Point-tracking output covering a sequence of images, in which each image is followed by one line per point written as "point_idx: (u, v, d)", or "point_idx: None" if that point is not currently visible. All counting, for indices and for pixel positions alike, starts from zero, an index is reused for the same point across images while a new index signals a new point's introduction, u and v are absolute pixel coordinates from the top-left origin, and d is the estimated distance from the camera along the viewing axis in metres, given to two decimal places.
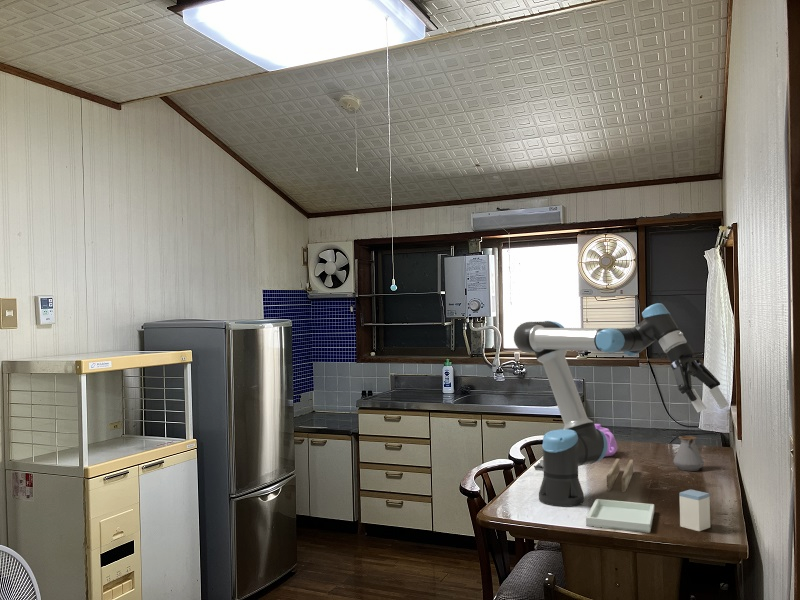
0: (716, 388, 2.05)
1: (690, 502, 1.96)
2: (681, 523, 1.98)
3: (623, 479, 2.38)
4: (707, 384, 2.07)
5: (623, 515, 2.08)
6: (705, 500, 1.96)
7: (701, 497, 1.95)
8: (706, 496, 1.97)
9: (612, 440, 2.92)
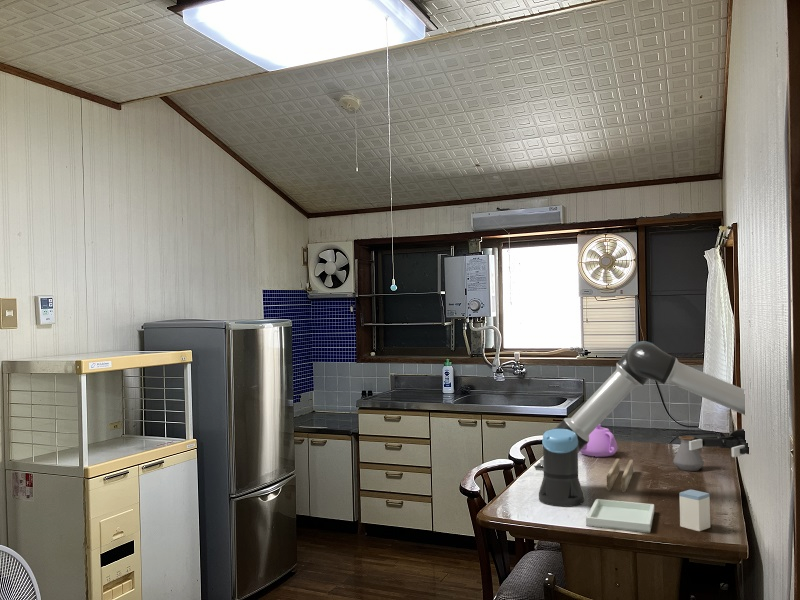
0: (701, 446, 2.13)
1: (690, 502, 1.96)
2: (681, 523, 1.98)
3: (623, 479, 2.38)
4: (706, 440, 2.14)
5: (623, 515, 2.08)
6: (705, 500, 1.96)
7: (701, 497, 1.95)
8: (706, 496, 1.97)
9: (612, 440, 2.92)
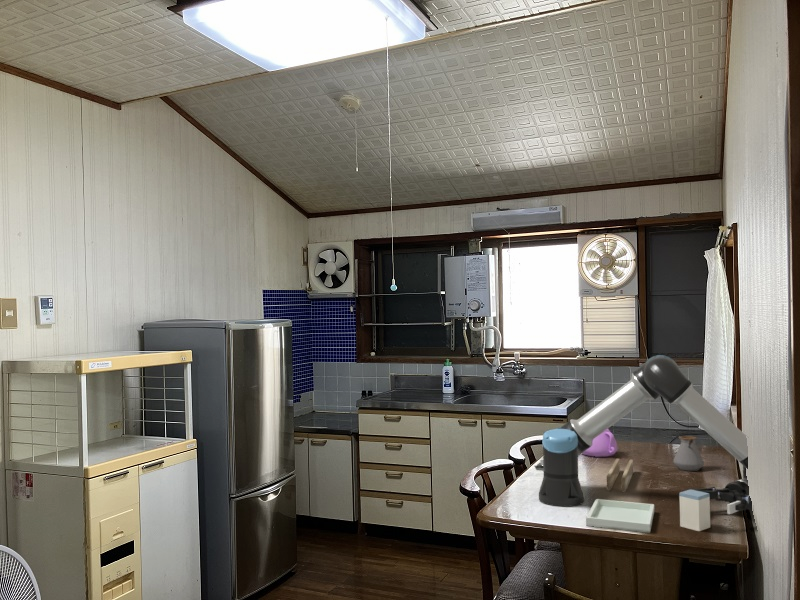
0: None
1: (690, 502, 1.96)
2: (681, 523, 1.98)
3: (623, 479, 2.38)
4: None
5: (623, 515, 2.08)
6: (705, 500, 1.96)
7: (701, 497, 1.95)
8: (706, 496, 1.97)
9: (612, 440, 2.92)
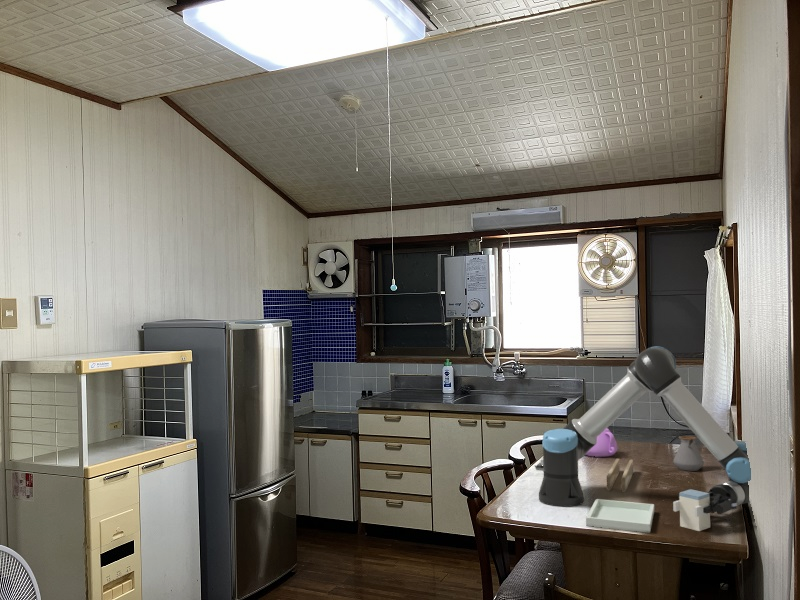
0: None
1: (690, 502, 1.96)
2: (681, 523, 1.98)
3: (623, 479, 2.38)
4: None
5: (623, 515, 2.08)
6: (705, 500, 1.96)
7: (701, 497, 1.95)
8: (706, 496, 1.97)
9: (612, 440, 2.92)
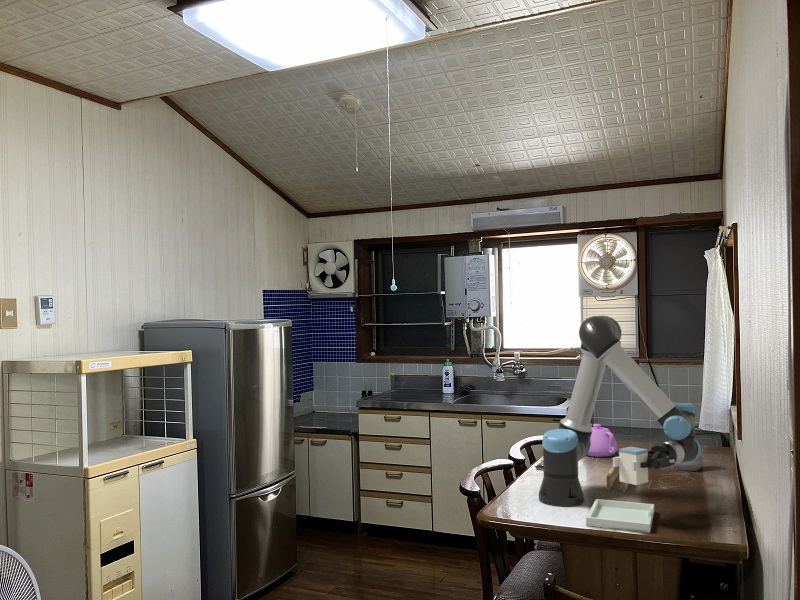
0: None
1: (628, 457, 2.03)
2: (620, 478, 2.05)
3: None
4: None
5: (623, 515, 2.08)
6: (643, 456, 2.03)
7: (639, 452, 2.02)
8: (644, 452, 2.04)
9: (612, 440, 2.92)
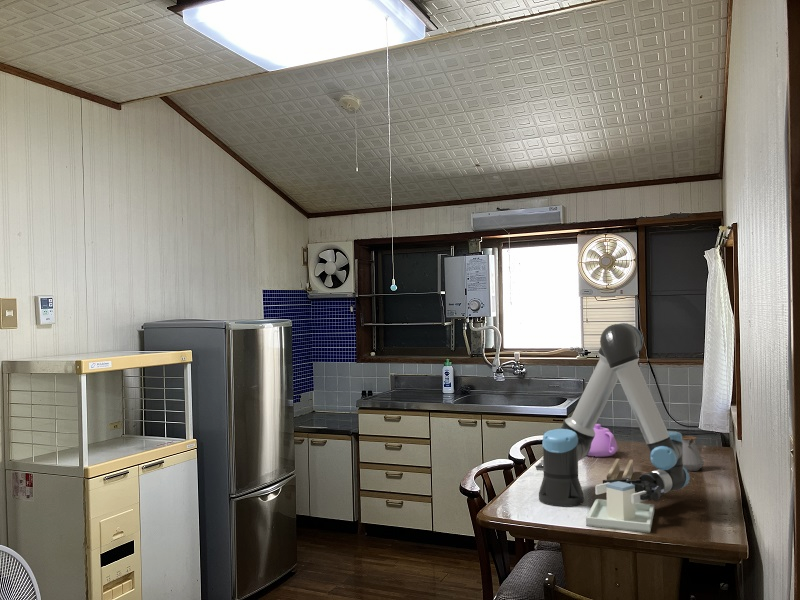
0: None
1: (615, 493, 2.05)
2: (608, 513, 2.07)
3: None
4: None
5: None
6: (630, 491, 2.05)
7: (626, 488, 2.04)
8: (631, 487, 2.05)
9: (612, 440, 2.92)
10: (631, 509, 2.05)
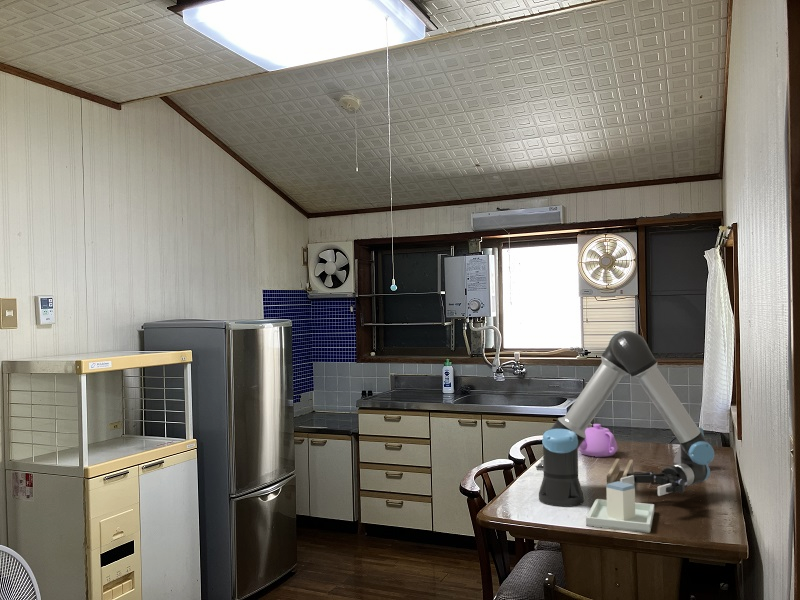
0: (633, 483, 2.21)
1: (615, 493, 2.05)
2: (608, 513, 2.07)
3: None
4: (638, 477, 2.22)
5: None
6: (630, 491, 2.05)
7: (626, 488, 2.04)
8: (631, 487, 2.05)
9: (612, 440, 2.92)
10: (631, 509, 2.05)
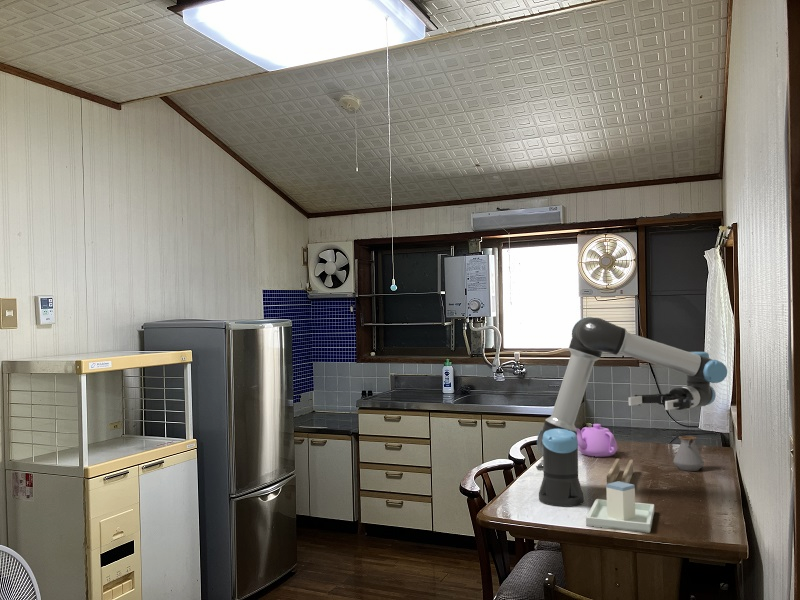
0: (640, 403, 2.28)
1: (615, 493, 2.05)
2: (608, 513, 2.07)
3: (623, 479, 2.38)
4: (645, 397, 2.29)
5: None
6: (630, 491, 2.05)
7: (626, 488, 2.04)
8: (631, 487, 2.05)
9: (612, 440, 2.92)
10: (631, 509, 2.05)
